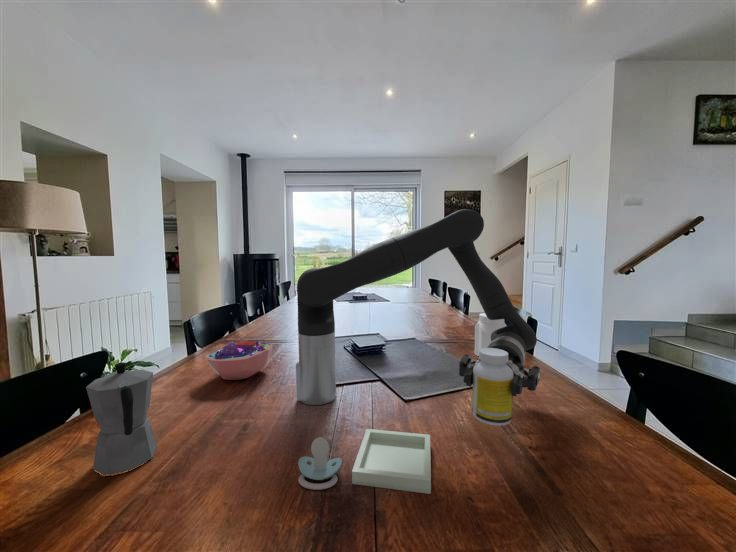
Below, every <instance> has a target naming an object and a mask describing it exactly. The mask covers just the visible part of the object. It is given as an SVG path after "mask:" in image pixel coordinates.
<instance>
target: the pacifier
mask: <svg viewBox="0 0 736 552" xmlns="http://www.w3.org/2000/svg"><path fill="white" fill-rule="evenodd" d="M310 447H311V448H310V451H311V453H312V456H313V457H312V456H302V457H300V458H299V459H298V461H297V462H298V463H297V464H298V468H299V471H300V473H301V474H300V476H299V477H298V479H297V481H298V484H299V485H300V486H301V487H303V488H305V489H309V490H314V491H317V490H318V491H319V490H326V489H329V488H331V487H333V486H335V485H336V484H337V482H338V479H339V477H338V476H337V474H336V473H337V472H338V471H339V470H340V468H341V466H342V464H343V458H341V457H335V458H331V459H329V460H328V457H327V456H328V454H329V451H330V443H329V442H328V440H327V439H326V438H325V437H322V436H319V437H316V438H315V439H314V440H313V441H312V443H311V445H310ZM308 463H310V464H308ZM306 478H307V479H311V480H314V481H324V480H325V479H326V480H328V479H330V478H331V479H330V480H329V481H326V480H325V481H326V482H322V483H313V482H309V481H307V480H306Z"/></svg>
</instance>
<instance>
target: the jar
mask: <svg viewBox="0 0 736 552" xmlns="http://www.w3.org/2000/svg"><path fill="white" fill-rule="evenodd" d="M506 326H508V325H507V324H506V323H505V319H499V320H490V319H488V318H487V316H486V314H485V312H482V313H481V312H480V313H479V317H478V321H477V323H476V324H475V326H474V355H475V356H477V357H478V356H479V350H480V349H482V348H487V347H488V346H489V344H490V343H491V333H492V332H493V331H495V330H497V329H500V328H503V327H506Z"/></svg>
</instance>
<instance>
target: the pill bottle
mask: <svg viewBox="0 0 736 552" xmlns="http://www.w3.org/2000/svg"><path fill="white" fill-rule="evenodd" d="M478 358H479V359H480V362H479V363H477V364H476V365H475V366H474V368H473V384H472V397H471V398H472V399H471V400H472V401H471V413H472V414H473V416H474V418H475V419H476V420H478V421H480V422H482V423H483V424H486V425H491V426H498V427H499V426H506V425H509V424H510V423H511V422H512V418H513V402H514V401H513V399H514V398H513V397H514V396H511V390H512V381H513V371H512V370H511V368H510V367H509V366H507V365H506V363H507V362H508V352H506V351H504V350H501V349H496V348H482V349H480V350H479V357H478Z"/></svg>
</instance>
